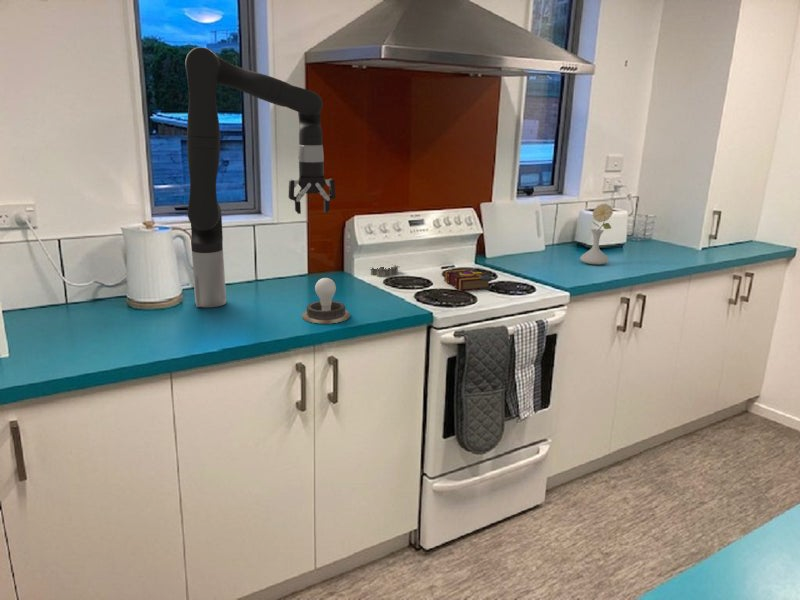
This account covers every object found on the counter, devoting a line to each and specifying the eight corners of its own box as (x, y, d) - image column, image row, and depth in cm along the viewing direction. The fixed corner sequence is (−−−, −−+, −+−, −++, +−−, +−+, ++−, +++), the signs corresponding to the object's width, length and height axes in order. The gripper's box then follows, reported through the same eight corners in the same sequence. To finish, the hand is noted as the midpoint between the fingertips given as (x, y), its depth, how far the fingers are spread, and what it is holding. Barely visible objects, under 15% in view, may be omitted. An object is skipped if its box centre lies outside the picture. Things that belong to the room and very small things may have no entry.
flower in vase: (573, 261, 266) (579, 201, 259) (595, 259, 271) (601, 200, 264) (595, 268, 255) (601, 205, 248) (617, 266, 259) (624, 204, 252)
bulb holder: (308, 326, 182) (307, 315, 181) (297, 312, 195) (297, 301, 194) (355, 321, 187) (355, 310, 186) (342, 307, 199) (342, 297, 198)
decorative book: (460, 292, 219) (461, 278, 218) (442, 281, 234) (442, 267, 232) (490, 290, 223) (491, 276, 221) (470, 278, 237) (470, 265, 236)
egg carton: (388, 270, 248) (388, 260, 247) (401, 274, 243) (401, 263, 241) (367, 274, 241) (367, 264, 240) (380, 278, 236) (380, 267, 235)
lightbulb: (312, 315, 190) (310, 279, 186) (324, 309, 195) (322, 274, 192) (329, 318, 187) (327, 281, 184) (340, 312, 192) (339, 277, 189)
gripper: (290, 161, 190) (292, 215, 194) (337, 160, 194) (337, 214, 199) (285, 159, 196) (287, 212, 201) (330, 158, 201) (331, 210, 206)
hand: (312, 213), depth 200 cm, fingers open, 8 cm apart
